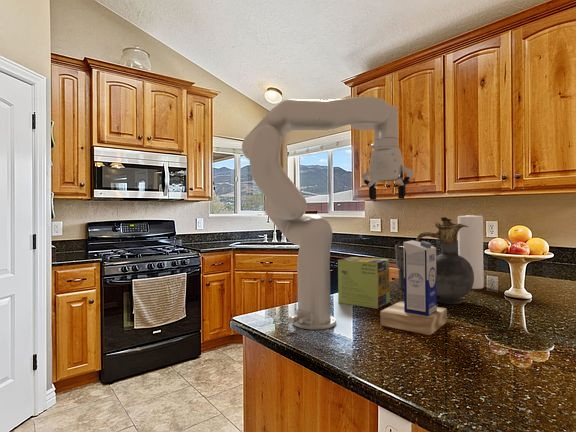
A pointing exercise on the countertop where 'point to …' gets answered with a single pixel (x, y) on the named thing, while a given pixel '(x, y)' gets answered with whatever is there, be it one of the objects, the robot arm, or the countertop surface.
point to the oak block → (412, 319)
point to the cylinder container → (472, 246)
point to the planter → (400, 263)
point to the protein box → (363, 282)
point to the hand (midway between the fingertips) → (386, 199)
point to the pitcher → (450, 264)
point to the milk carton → (419, 278)
